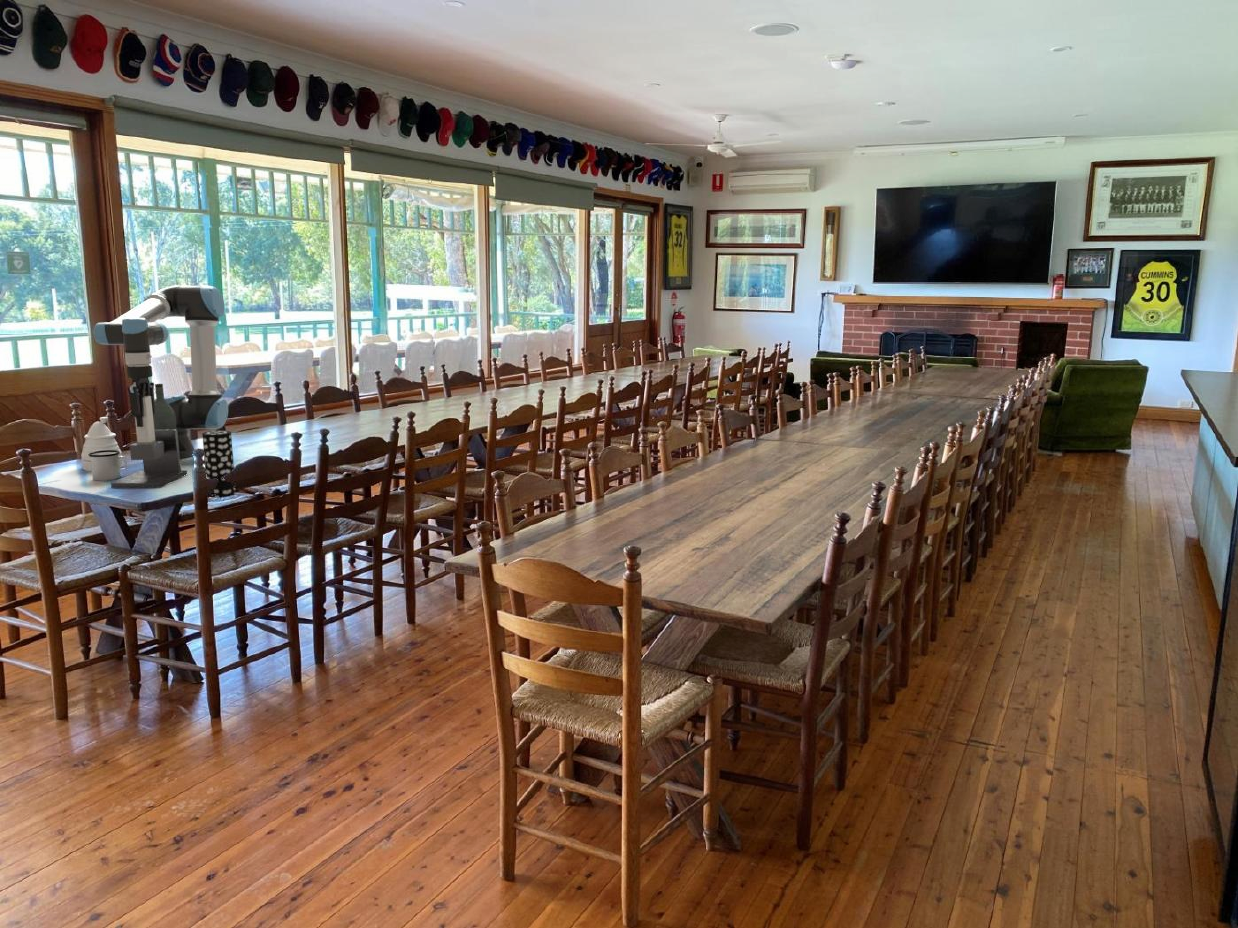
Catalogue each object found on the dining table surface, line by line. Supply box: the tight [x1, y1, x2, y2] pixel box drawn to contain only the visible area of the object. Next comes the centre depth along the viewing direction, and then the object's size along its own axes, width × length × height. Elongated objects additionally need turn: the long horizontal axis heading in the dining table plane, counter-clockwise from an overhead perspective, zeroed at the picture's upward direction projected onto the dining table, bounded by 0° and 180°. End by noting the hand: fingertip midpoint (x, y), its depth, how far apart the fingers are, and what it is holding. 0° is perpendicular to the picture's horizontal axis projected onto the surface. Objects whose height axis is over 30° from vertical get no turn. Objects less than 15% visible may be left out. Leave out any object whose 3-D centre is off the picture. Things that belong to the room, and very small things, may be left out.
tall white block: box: [134, 396, 156, 445], centre depth 307 cm, size 4×4×18 cm
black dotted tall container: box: [201, 430, 237, 499], centre depth 290 cm, size 8×8×20 cm
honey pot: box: [80, 416, 124, 472], centre depth 331 cm, size 13×13×18 cm
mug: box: [88, 450, 128, 482], centre depth 315 cm, size 12×10×9 cm
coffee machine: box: [110, 430, 188, 489], centre depth 310 cm, size 20×16×16 cm
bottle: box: [153, 383, 176, 430], centre depth 333 cm, size 9×9×30 cm
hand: (145, 434), depth 308 cm, fingers closed on tall white block, 4 cm apart
